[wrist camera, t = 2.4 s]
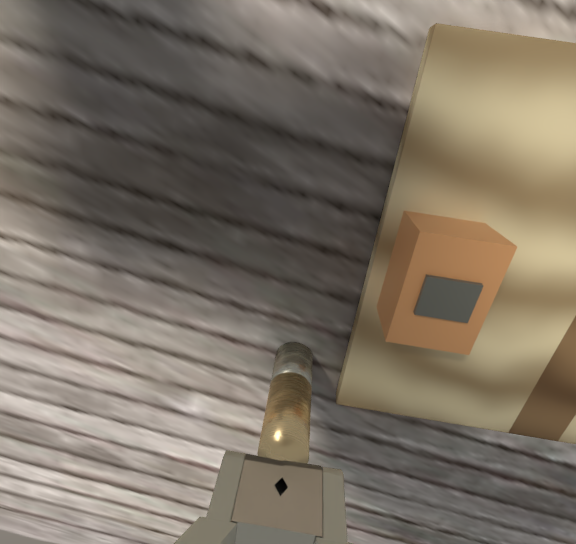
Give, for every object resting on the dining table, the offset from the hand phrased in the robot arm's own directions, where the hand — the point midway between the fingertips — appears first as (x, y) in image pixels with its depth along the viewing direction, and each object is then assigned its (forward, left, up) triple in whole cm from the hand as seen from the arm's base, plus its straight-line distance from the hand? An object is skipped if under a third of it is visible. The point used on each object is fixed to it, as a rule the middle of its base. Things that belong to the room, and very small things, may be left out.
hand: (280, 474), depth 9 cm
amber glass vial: (+10, +1, -17) cm, 20 cm away
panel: (0, +16, -17) cm, 23 cm away
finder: (0, +8, -16) cm, 18 cm away
